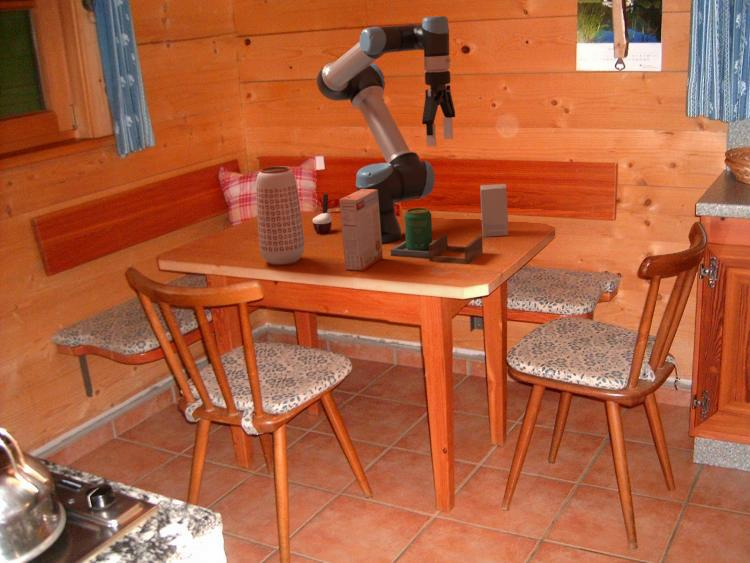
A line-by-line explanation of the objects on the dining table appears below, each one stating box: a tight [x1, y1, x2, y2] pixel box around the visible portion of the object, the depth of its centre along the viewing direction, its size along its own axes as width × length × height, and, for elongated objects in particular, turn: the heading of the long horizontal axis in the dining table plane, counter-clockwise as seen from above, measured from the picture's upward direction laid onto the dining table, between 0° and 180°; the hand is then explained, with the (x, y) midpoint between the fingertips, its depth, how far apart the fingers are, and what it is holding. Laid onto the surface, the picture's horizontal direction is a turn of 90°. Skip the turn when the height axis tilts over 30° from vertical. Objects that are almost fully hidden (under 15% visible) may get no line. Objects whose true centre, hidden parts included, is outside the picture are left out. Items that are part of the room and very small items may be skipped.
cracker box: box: [338, 189, 384, 272], centre depth 247 cm, size 14×6×21 cm, turn 154°
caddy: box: [428, 233, 484, 265], centre depth 250 cm, size 12×12×5 cm
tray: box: [390, 239, 435, 259], centre depth 259 cm, size 13×13×2 cm
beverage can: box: [404, 207, 433, 251], centre depth 258 cm, size 8×8×12 cm
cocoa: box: [312, 193, 333, 235], centre depth 288 cm, size 10×6×12 cm, turn 139°
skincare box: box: [479, 183, 509, 238], centre depth 271 cm, size 8×7×16 cm
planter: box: [255, 165, 306, 267], centre depth 253 cm, size 13×13×28 cm
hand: (440, 142), depth 261 cm, fingers open, 13 cm apart
